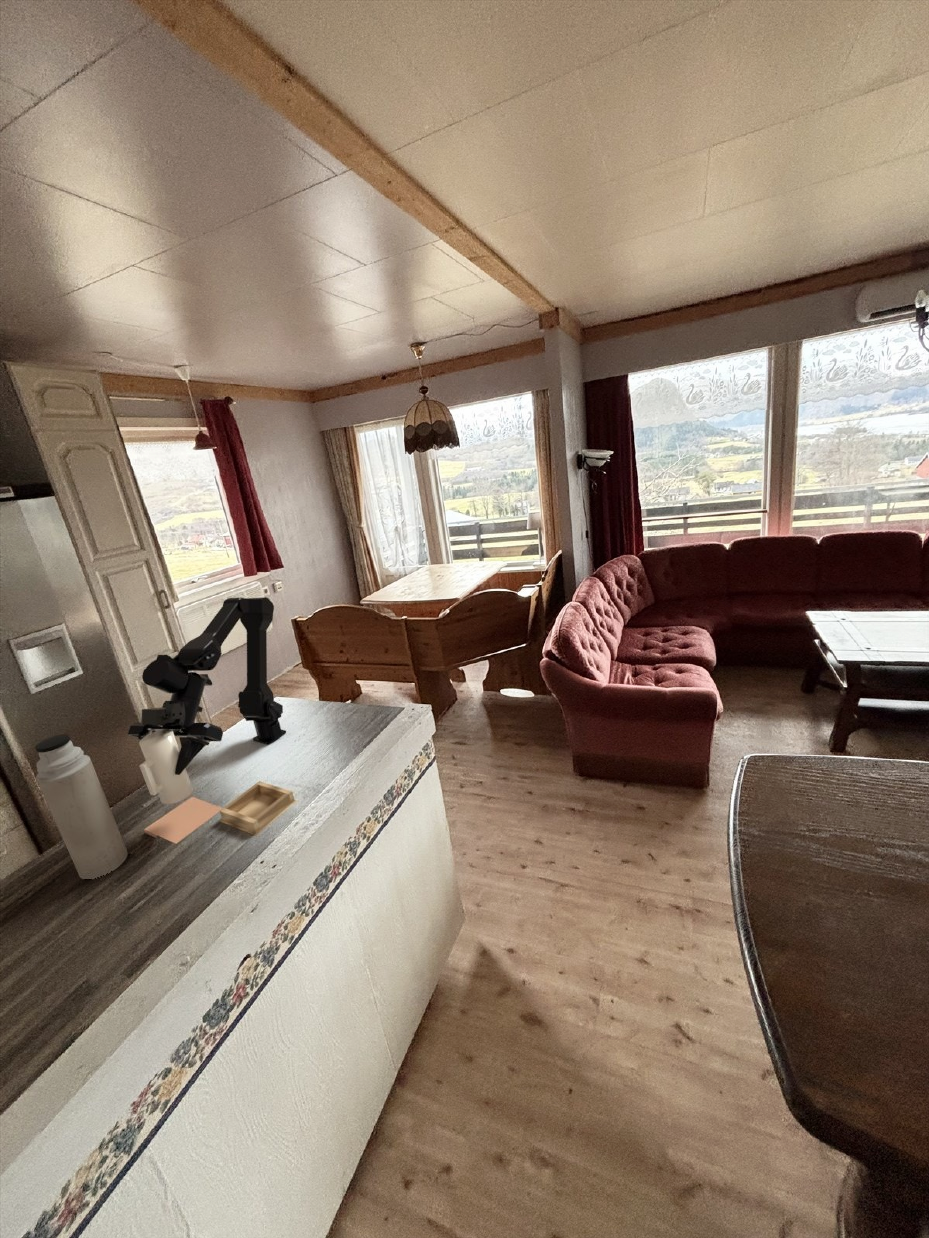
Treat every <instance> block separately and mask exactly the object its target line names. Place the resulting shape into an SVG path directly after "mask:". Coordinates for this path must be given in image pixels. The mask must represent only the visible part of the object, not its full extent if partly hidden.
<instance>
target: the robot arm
mask: <svg viewBox="0 0 929 1238" xmlns="http://www.w3.org/2000/svg"><path fill="white" fill-rule="evenodd" d="M222 602H223V603H222V606H221V608H220V609H219V610H218V611H217V613H216V614H215V616H214V617H213V619H212V620H211V621H210V622H209V624H208V625H207V626H206V628H205V629H204V630H203V631H202V633H201V634H200V635H199V636H196V637H195V638H193V639H191V640H188V642H186V644H185V645H184V646H182V647H181V648H180V650H179V651H178V653H177V654H176V655H175V656H174V657H173V658H172V657H171V656H170V655H168V654H157V656H156V659H154V660H153V661H151V662H150V663H149V664H148V665H147V666H146V667H145V668H144V670H143V671H142V675H141V676H142V677H141V679H142V681H143V683H144V685H146V686H149V687H151V688H154V689H156V690H160V691H161V692H164V693H166V694H171V697H170V700H164V702H163V703H162V707H150V708H142V709H141V722H134V723H132V724H131V725H130V726H129V729H128V732H127V736H129V737H133V738H136V739H137V740H138V741H140V740H141V739H142V738H144V737H145V736H147V735H149V734H151V733H153V732H156V731H159V730H164V729H169V730H172V731H173V733H174V736H175V737H179V744H180V749H179V750H180V753H179V757H178V761H177V764H176V769H175V774H176V775H180V774H181V773H182V772H183V770H184V769H185V768H186V769H187V767H188V766H189V765H190V763H191V762H192V761H193V760H194V758H196V756H197V755H198V754H199V753H200V752H201V751H202V750H203V749H204V748H205V747H206V746H209V745H210V742H221V741H222V740H223V739H222V738H223V736H224V733H223V728H222V727H220V726H218V725H215V724H212V723H211V722H210V723H209V722H196V718H197V715H198V713H202V712H203V707H202V706H200V704H201V699H202V697H203V695H204V694H203V693H204V690H205V686H207V687H209V686H211V687H212V685H213V681H212V680H211V679H210V677H209V675H208V673H198V672H199V671H200V672H203V671H212V670H214V669H215V668H216V666H217V665H218V663H219V660H220V659H221V657H222V646H223V643H224V642H225V641H226V639H227V637H229V634H230V633H231V632H232V630H233V629H234V628H235V626H236V625H237V623H238V622H239V621H240V622H241V624H242V627H244V629H245V630H246V686H245V687H244V689H243V691H239V692H238V704H237V708H238V710H239V713H240V714H241V715H242V716H243V718H244V720H245V721H246V722H251V721H252V722H253V725H254V728H255V731H256V732H255V733H256V736H254V737H253V738H252V740H253V741H255V742H258V743H262V744H265V745H270V744H272V743H273V742H274V741H276V740H278V739H279V738H280V737H282V736H284V735H285V734H287V730H285V729H282V727H281V724H280V721H279V719H281V717H282V714H283V713H284V709H283V708H284V706H283V704H281V703H279V702H277V701H275V699H274V698H275V696H274V693H273V691H272V689H271V687H270V686H269V685H268V676H267V675H268V671H267V670H268V666H267V665H268V663H267V660H268V659H267V657H268V655H267V653H268V651H267V649H268V648H267V646H268V645H267V644H268V643H267V630H268V629H269V627H270V625H271V624H272V622H273V620H274V619H273V617H274V611H275V605H274V603H273V601H271V600H270V598H268V597H263V596H262V597H248V598H245V597H228V598H226V599H224V601H222Z"/></svg>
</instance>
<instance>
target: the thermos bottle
mask: <svg viewBox="0 0 929 1238" xmlns="http://www.w3.org/2000/svg"><path fill="white" fill-rule="evenodd" d="M35 751H36V752H37V753H38V756H39V760H38V761H37V763H36V768H37V770H36V771H37V774H36V777H35V778H36V781H37V784H38V785H39V788H40V791H41V792H42V795H43V798H44V800H45V802H46V804H47V806H48V808H49V811H50V814H51V815H52V817H53V820H54V822H55V824H56V826H57V829H58V831H59V833H60V835H61V838H62V840H63V842H64V844H65V846H66V849H67V850H68V853H69V856H70V858H71V860H72V861H73V865H74V867H75V870H76V871H77V873H78V876H79V878H80V879H82V880H84V879H92V880H96V879H98V878H97V877H99V878H101V877H100V876H102V877H104V876H107V875H108V874H110V873H112V872H113V871H115V870H116V869H118V868H119V867H120V866H121V865H122V864H123V863H124V862H125V861H126V859H127V857H128V849H127V847H126V845H125V842H124V839H123V838H122V835H121V833H120V832H121V831H120V830H119V829H120V828H119V826H118V825H117V822H116V819H115V817H114V815H113V813H112V809H111V808H110V805H109V802H108V800H107V797H106V794H105V792H104V789H103V787H102V785H101V782H100V779H99V778H98V775H97V772H96V769H95V767H94V764H93V762H92V759H91V757H90V756H89V755H87V754H84V750H83V749H82V748H81V747H80V746H74V744H73V742H72V740H71V737H70V735H69V734H66V733H64V734H58V735H54V736H51V737H48V738H46V739H43V740H42V741H39V743H37V744H36V745H35ZM111 871H112V872H111ZM107 873H108V874H107ZM106 874H107V875H106ZM103 875H104V876H103ZM95 878H96V879H95Z"/></svg>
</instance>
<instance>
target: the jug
mask: <svg viewBox="0 0 929 1238" xmlns="http://www.w3.org/2000/svg"><path fill="white" fill-rule="evenodd" d="M138 744H139V747H140V749H141V750H140V751H141V753H142V754H143V756H144V760H145V761H143V762H142V763H141V764H140V765H139V768H140V769H139V770H140V771H141V774H142V776H143V779H144V782H145V784H146V786H147V789H148V792H149V794H150V796H156V795H158V796H159V799H160V802H161V803H162V804H164V805H173V804H176V803H179V802H181V801H183V800H185V799H186V798H188V797H189V796H190V795H191V794H192V793H193V790H194V789H193V784H192V782H191V780H190V779H191V778H190V776H189V773H188V770H187V767H186V768H185V769H184V770H183V772H182V773H181V774H180V775H176V774H175V769H176V764H177V761H178V757H179V753H180V749H179V748H180V747H179V745H178V742H177V740H176V736H174V733H173V731H172V730H169V729H164V730H159V731H156V732H153V733H151V734H149V735H147V736H145V737H144V738H142V739H141V740H139V743H138Z"/></svg>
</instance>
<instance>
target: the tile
mask: <svg viewBox="0 0 929 1238" xmlns="http://www.w3.org/2000/svg"><path fill="white" fill-rule="evenodd" d="M223 808H224V807H221V806H218V805H214V804H213V803H210V802H207V801H204V800H202V799H199V798H196V797H194V796H191V797H190V798H188V799H187V800H185V801H183V802H182V803H180V804H179V805H177V806H176V807H175V808H174V809H171V810H170V811H169V812H167V813H166V814H165V815H163V816H162V817H160V818H158V819H157V820H155V821H154V822H153V823H151V824H150V825H148V826H147V827H145V828H144V833H145V834H147V835H149V836H151V837H153V838H155V839H157V838H158V837H160V838H161V839H164V840H166V841H169V842H170V843H173V844H175V845H176V844H178V843H179V842H181V841H182V840H183V839H185V838H186V837H187V836H189V835H190V834H191V833H193V832H194V831H196V830H197V829H198V828H200V827H201V826H202V825H203V824H205V823H206V822H207V821H209V820H211V819H212V818H213V817H214V816H215V815H217V814H218V813H220V810H221V809H223Z"/></svg>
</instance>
